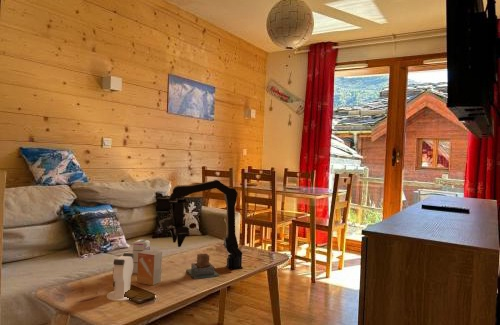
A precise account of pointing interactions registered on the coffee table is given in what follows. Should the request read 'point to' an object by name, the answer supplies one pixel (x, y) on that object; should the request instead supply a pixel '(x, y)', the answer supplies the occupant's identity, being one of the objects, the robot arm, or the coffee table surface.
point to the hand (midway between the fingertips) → (176, 244)
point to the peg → (202, 260)
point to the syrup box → (137, 248)
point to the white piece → (121, 277)
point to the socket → (202, 271)
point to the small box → (149, 267)
